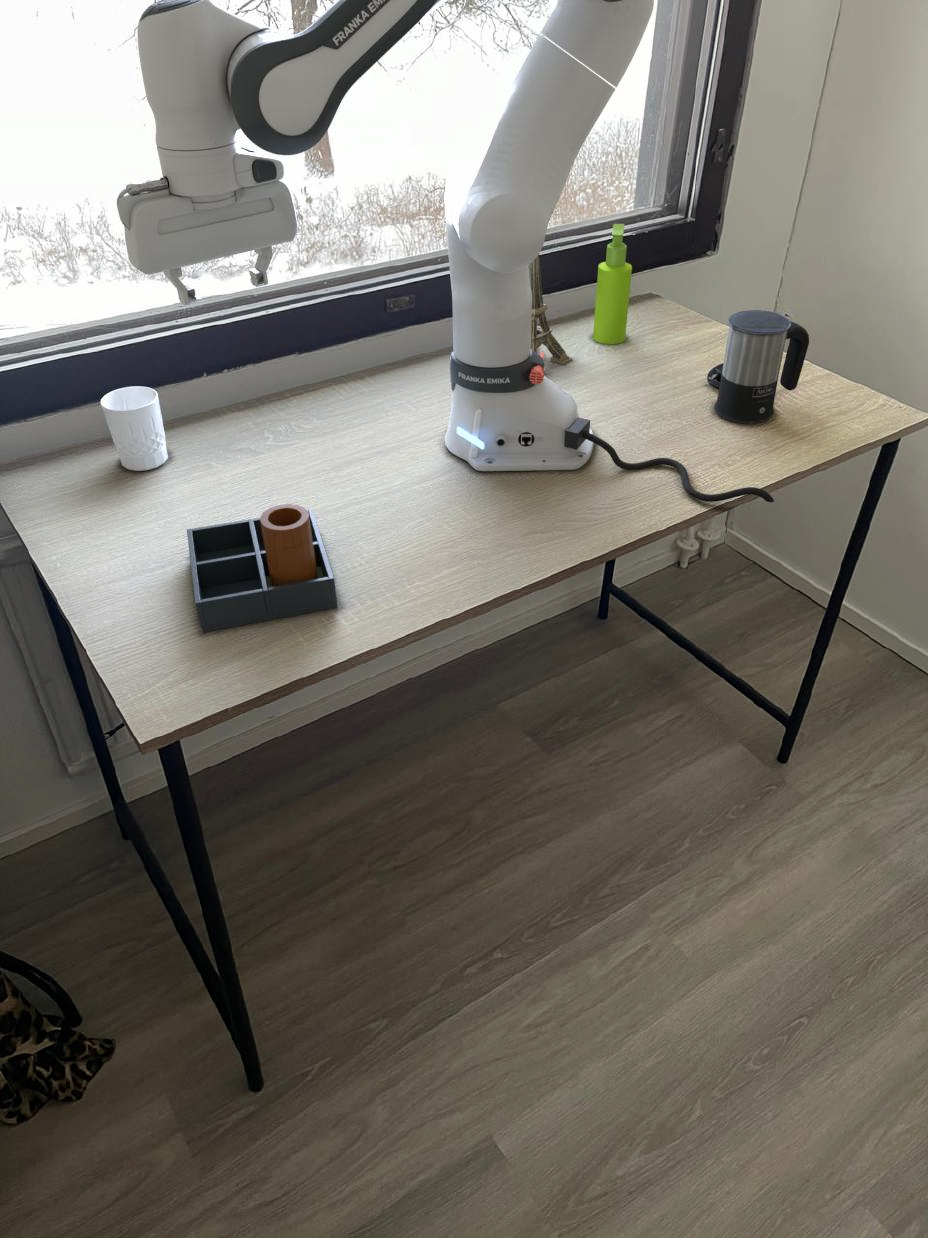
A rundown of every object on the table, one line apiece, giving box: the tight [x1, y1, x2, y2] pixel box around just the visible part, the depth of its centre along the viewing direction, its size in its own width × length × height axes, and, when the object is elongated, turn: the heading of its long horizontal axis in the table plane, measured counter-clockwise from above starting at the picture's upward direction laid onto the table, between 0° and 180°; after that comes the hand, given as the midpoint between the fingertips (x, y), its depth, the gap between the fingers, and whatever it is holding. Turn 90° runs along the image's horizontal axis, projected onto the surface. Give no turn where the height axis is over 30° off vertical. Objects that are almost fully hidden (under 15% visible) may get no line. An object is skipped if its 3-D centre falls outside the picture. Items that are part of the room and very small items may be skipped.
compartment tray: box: [186, 508, 338, 633], centre depth 114 cm, size 16×16×4 cm
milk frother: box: [706, 309, 810, 425], centre depth 148 cm, size 14×16×15 cm
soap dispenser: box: [592, 223, 633, 345], centre depth 166 cm, size 6×7×20 cm
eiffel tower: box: [529, 253, 573, 366], centre depth 157 cm, size 11×11×25 cm
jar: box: [259, 503, 318, 587], centre depth 110 cm, size 6×6×10 cm
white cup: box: [99, 385, 169, 472], centre depth 136 cm, size 8×8×10 cm
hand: (224, 293), depth 113 cm, fingers open, 8 cm apart
